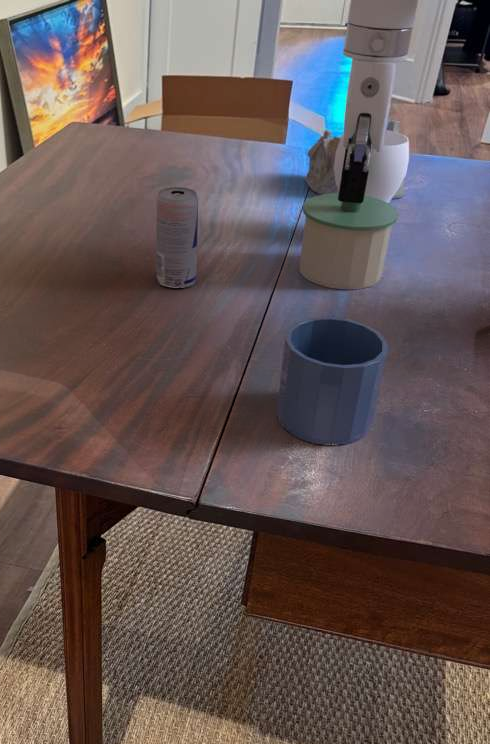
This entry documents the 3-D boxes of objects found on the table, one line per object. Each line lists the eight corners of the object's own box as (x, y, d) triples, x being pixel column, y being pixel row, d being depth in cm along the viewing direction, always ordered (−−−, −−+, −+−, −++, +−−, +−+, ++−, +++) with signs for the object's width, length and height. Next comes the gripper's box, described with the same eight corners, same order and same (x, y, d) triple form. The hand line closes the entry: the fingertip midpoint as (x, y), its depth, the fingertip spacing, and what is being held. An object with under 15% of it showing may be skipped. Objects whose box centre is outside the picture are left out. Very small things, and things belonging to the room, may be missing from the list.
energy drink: (196, 273, 100) (199, 187, 92) (195, 290, 95) (197, 201, 88) (158, 272, 100) (158, 185, 92) (155, 289, 96) (154, 199, 88)
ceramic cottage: (415, 197, 126) (429, 105, 118) (332, 209, 123) (339, 114, 114) (372, 176, 139) (381, 91, 130) (295, 186, 135) (299, 98, 126)
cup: (330, 221, 117) (345, 124, 107) (396, 231, 114) (416, 132, 105) (317, 245, 109) (331, 142, 100) (387, 256, 106) (408, 151, 97)
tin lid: (351, 195, 104) (358, 151, 100) (417, 223, 95) (427, 177, 92) (282, 210, 98) (287, 164, 94) (346, 242, 90) (354, 193, 86)
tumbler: (327, 382, 79) (339, 308, 73) (390, 426, 72) (408, 349, 67) (258, 408, 74) (265, 332, 69) (318, 457, 68) (332, 378, 62)
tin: (342, 249, 108) (351, 193, 103) (398, 278, 100) (411, 218, 95) (283, 265, 103) (289, 206, 97) (337, 296, 95) (347, 235, 90)
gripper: (411, 58, 77) (379, 215, 87) (407, 33, 90) (380, 172, 101) (341, 52, 78) (318, 208, 88) (347, 29, 91) (327, 167, 102)
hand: (351, 189), depth 94 cm, fingers open, 9 cm apart
